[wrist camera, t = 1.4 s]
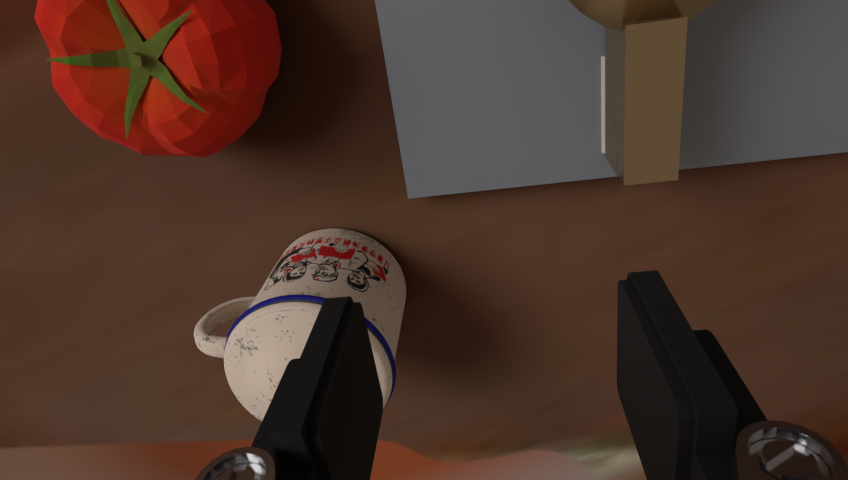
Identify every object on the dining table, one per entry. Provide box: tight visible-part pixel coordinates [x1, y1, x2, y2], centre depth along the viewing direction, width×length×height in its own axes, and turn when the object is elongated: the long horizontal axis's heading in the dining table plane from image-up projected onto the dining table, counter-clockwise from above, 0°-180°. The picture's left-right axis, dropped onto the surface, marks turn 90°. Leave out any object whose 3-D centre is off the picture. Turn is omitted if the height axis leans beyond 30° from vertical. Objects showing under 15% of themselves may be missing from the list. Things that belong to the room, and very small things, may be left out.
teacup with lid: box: [194, 228, 406, 421], centre depth 32 cm, size 12×9×12 cm
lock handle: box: [568, 0, 717, 186], centre depth 24 cm, size 14×8×4 cm, turn 8°
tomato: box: [34, 0, 282, 157], centre depth 27 cm, size 11×11×8 cm
